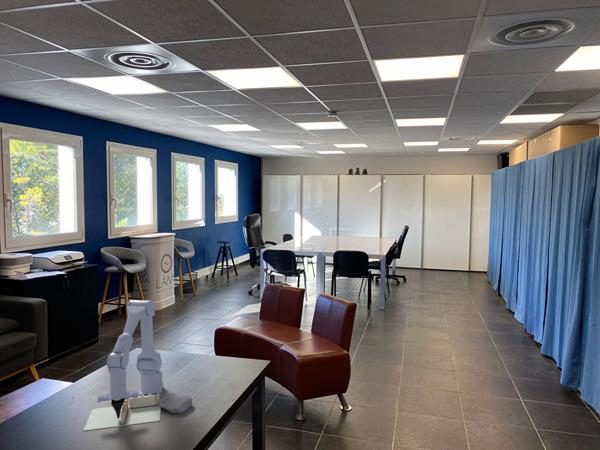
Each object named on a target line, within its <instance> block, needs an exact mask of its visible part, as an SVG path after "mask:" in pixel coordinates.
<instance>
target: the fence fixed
mask: <svg viewBox="0 0 600 450" xmlns="http://www.w3.org/2000/svg"><path fill="white" fill-rule="evenodd" d="M125 400H127V408H128V405H129V406H130V408H136V407H144V406H152V405H155V402H156V405H157V406H158V405H159V403H160V400H161V393H155V394H148V395H139V396H138V398H135V397H134V398H125Z"/></svg>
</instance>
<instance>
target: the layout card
mask: <svg viewBox="0 0 600 450" xmlns="http://www.w3.org/2000/svg"><path fill="white" fill-rule="evenodd" d="M122 407H123V406H122ZM161 410H162V408H161V407H160V406H159V405H158V406H157V405H156V401H155V405H152V406H144V407H136V408H130V406H129V404H128V409H127V414H126V418H125V423H124V424H121V412H120V418H118V419H117V415H116V412H115V410H114V408H113V406H108V407H106V406H105V407H101V408H98V407H97V408H92V409H91V411H90V414H89V417H88V419H87V421H86V424H85V426H84V428H83V432H87V431H95V430H102V429H109V428H117V427H124V426H125V427H126V426H132V425H140V424H141V425H142V424H147V423H154V422H155V423H157V422H161ZM121 411H122V408H121Z"/></svg>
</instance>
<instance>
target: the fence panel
mask: <svg viewBox="0 0 600 450" xmlns="http://www.w3.org/2000/svg"><path fill="white" fill-rule="evenodd" d="M127 409H128V408H127V400H125V401H124V404H123V407H122V411H121V424H124V423H125V418H126V414H127Z"/></svg>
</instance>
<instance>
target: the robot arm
mask: <svg viewBox="0 0 600 450" xmlns="http://www.w3.org/2000/svg"><path fill="white" fill-rule="evenodd" d="M155 310H156V307H155V302H154V301H153V300H152V299H149V300H142V299H130V300H129V301H128V302H127V306H126V313H127V319H126V322H125V325H124V329H123V332H122V334H120V335H119V336H118V338H117V341H116V343H115V345H114V348H113V350H112V352H110V353H109V355H107V358H106V367H107V370H108V373H109V385H110V386H109V387H110V389H109V391H110V392H109V393H104V394H99V395H97V403H101V402H106V401H111V402H110V404H111V405H110V406H111V407H113V408H114V410H115V412H116V415H117V419H118V418H120V412H121V408H122V406H123V404H124V401H125V398H128V399H129V398H134V397H135V398H138V397H139V396H141V395H144V396H146V395H149V394H151V395H155V394H157V393H160V394H161V393H163V387H164V382H163V369H161V368H162V364H163V363H162V362H163V360H162V358H161V353H160V352H159V351H157V350H156V349H154V347H155V345H154V344H155V343H154V327H153V326H154V325H153V323H154V321H153V317H154V316H155V313H156V312H155ZM139 321H140V334H141V335H140V336H141V338H140V340H141V341H140V343H141V351H140V352H139V353H138V355H137V356H136V363H135V366H136V369H137V371H138V373H139V374H140V389H139V390H127V367H128V364H129V361H130V353H129V352H130V350H131V348H132V345H133V341H134V338H133V334H134V333H135V330H136V328H137V326H138V324H139Z"/></svg>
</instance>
